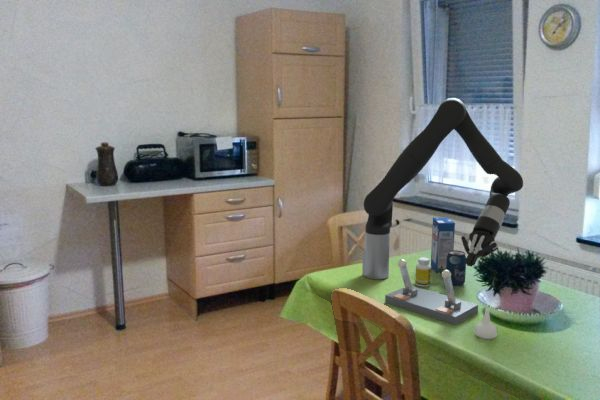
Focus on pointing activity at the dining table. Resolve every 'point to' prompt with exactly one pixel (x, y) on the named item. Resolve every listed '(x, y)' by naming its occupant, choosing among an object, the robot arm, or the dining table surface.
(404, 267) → the lever inner
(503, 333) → the dining table surface
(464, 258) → the soda can
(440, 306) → the switch unit
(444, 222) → the milk carton
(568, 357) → the dining table surface
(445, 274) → the lever outer
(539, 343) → the dining table surface
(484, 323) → the garlic bulb
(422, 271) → the supplement bottle
